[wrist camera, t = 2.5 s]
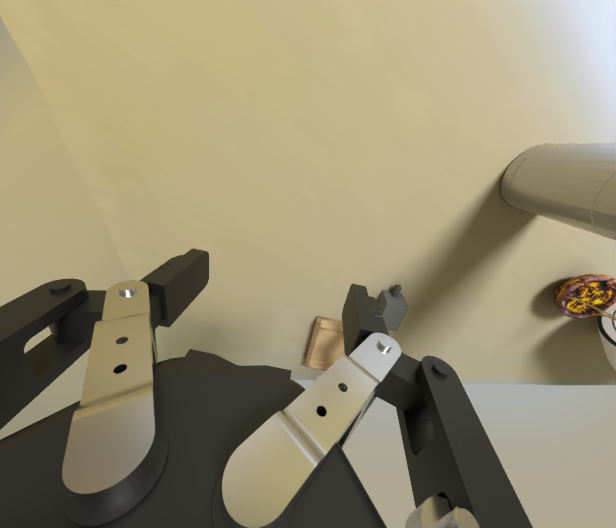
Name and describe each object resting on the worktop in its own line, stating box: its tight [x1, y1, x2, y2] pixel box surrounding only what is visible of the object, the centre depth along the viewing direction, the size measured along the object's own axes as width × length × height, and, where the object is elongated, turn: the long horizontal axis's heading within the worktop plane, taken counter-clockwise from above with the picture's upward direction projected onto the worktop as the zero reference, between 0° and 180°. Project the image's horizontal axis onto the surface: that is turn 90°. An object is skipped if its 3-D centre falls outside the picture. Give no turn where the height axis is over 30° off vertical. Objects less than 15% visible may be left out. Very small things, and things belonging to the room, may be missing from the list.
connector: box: [378, 284, 408, 331], centre depth 46 cm, size 4×11×4 cm, turn 169°
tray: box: [305, 316, 345, 370], centre depth 53 cm, size 11×14×2 cm
